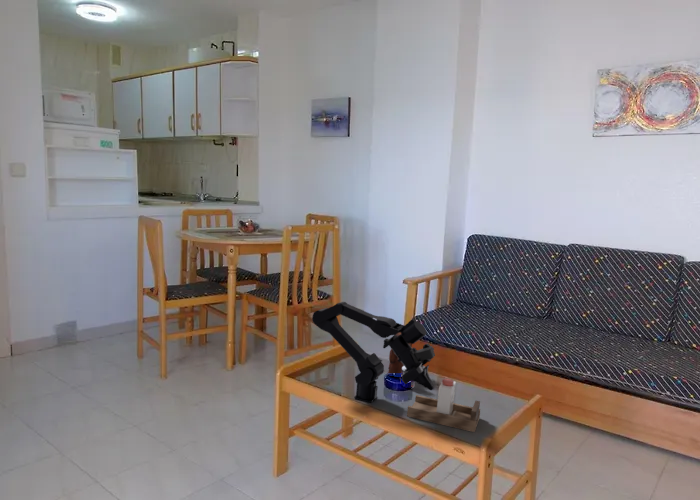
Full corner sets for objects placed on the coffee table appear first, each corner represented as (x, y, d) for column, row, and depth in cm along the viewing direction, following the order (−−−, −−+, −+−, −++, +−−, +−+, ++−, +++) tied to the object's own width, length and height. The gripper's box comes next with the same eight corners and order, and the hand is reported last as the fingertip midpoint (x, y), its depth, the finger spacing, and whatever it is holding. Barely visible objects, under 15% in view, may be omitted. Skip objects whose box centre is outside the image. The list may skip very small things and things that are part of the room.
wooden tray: (406, 416, 168) (408, 398, 167) (415, 403, 179) (417, 386, 179) (474, 432, 160) (476, 413, 160) (479, 418, 171) (481, 400, 171)
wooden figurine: (396, 368, 215) (400, 327, 213) (410, 372, 212) (414, 330, 210) (384, 376, 205) (388, 332, 203) (399, 380, 202) (403, 335, 200)
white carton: (436, 416, 166) (439, 383, 165) (441, 407, 174) (444, 375, 173) (448, 419, 165) (451, 385, 164) (452, 410, 173) (456, 378, 172)
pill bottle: (403, 382, 199) (405, 358, 198) (416, 385, 197) (418, 361, 196) (398, 386, 194) (400, 361, 193) (411, 390, 192) (413, 365, 191)
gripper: (415, 344, 162) (446, 385, 159) (428, 331, 179) (456, 368, 177) (389, 363, 166) (418, 403, 163) (404, 349, 183) (431, 385, 180)
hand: (432, 389), depth 170 cm, fingers closed
